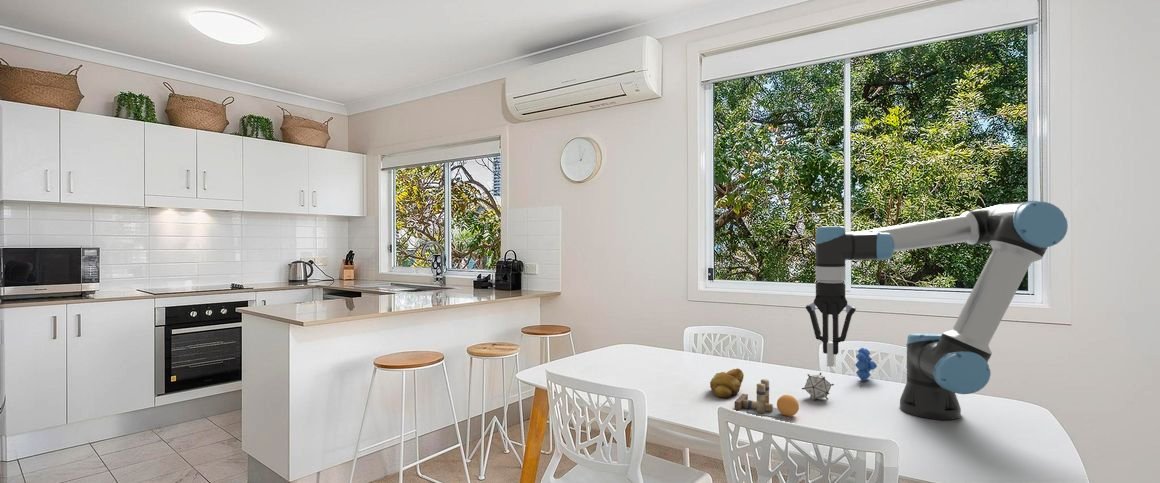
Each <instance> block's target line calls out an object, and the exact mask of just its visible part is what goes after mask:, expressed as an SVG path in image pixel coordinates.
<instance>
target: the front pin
mask: <svg viewBox="0 0 1160 483" xmlns="http://www.w3.org/2000/svg"><path fill="white" fill-rule="evenodd" d="M742 407H743V408H744V409H747V410H749V409H755V410H757V400H756V401H755V400H751V399H748V400H744V399H743V402H742ZM773 407H774V404H772V403H770V402H769V403H765V411H767V412H772V411H773ZM743 408H742V409H743Z"/></svg>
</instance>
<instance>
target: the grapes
mask: <svg viewBox="0 0 1160 483" xmlns="http://www.w3.org/2000/svg"><path fill="white" fill-rule="evenodd" d="M857 352H858V354H856V356H855V357H856V359H857V362H856V363H855V364H854V366H855V367H856V368H857V371H856V372H855V374H856V375H857V376H858V378H859V379H860V381H862V382H865V381H867V380H868V379H869V378H870V376H871V373H870V372H871V371H872V370H873V371H874V370H875V369H876V368H877V367H878V365H877V364H876V362H874V361H873V360H872V357H871V356H870V355H871V352H870V351H869V350H868V349H867V348H864V347H861V348H859V349H858V351H857Z"/></svg>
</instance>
